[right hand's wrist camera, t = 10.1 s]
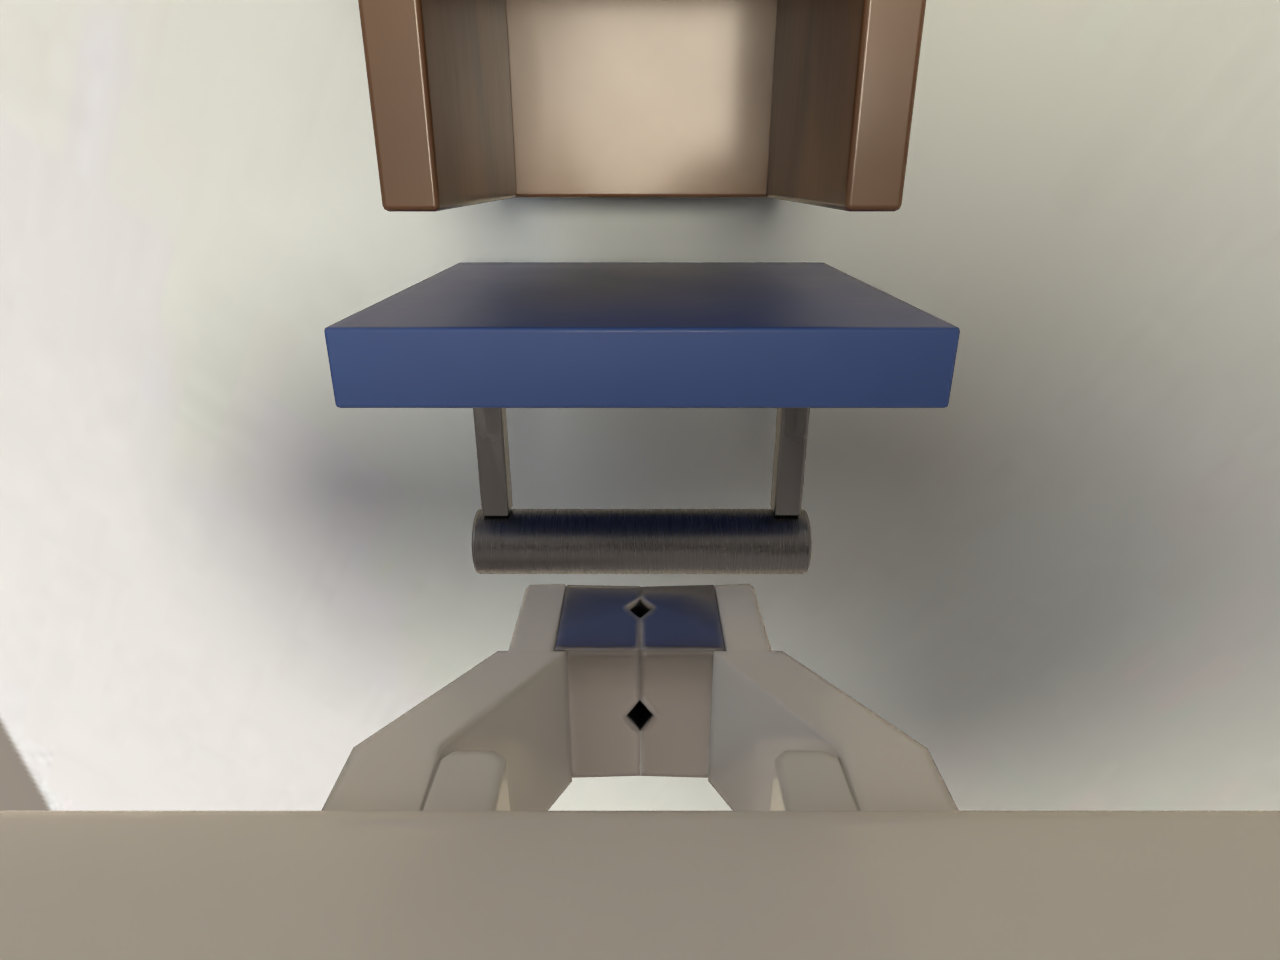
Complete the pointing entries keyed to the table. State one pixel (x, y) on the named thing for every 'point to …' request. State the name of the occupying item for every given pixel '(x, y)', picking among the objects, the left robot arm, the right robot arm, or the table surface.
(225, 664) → the table surface
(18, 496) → the table surface
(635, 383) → the drawer
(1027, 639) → the table surface
